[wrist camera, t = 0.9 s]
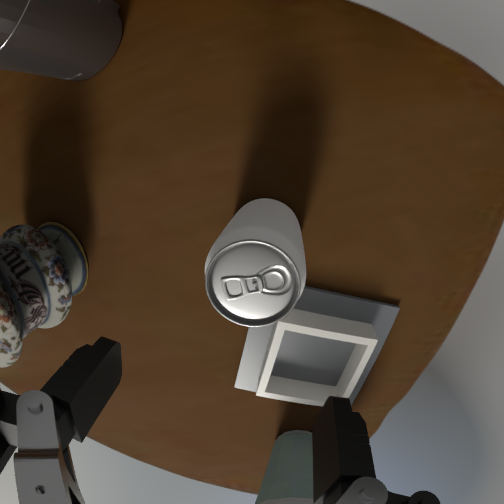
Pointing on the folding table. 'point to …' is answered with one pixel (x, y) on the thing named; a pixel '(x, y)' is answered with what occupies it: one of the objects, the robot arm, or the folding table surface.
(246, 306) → the can
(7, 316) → the apothecary jar
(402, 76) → the folding table surface
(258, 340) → the board
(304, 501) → the disposable coffee cup
